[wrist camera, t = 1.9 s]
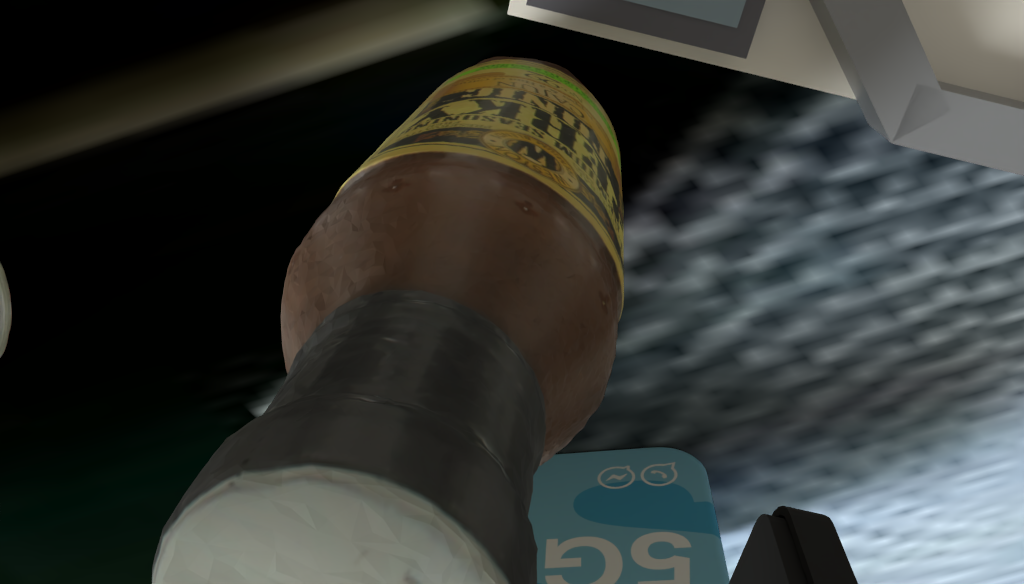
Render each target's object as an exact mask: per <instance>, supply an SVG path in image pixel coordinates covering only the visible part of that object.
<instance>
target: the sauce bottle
mask: <svg viewBox="0 0 1024 584" xmlns="http://www.w3.org/2000/svg"><path fill="white" fill-rule="evenodd" d="M623 279H624V265H623V200H622V182H621V159H620V151H619V145H618V141H617V138H616V134H615V131H614V128H613V126H612V124H611V122H610V120H609V118H608V116H607V114H606V113H605V111H604V110H603V108H602V107H601V105H600V104H599V102H598V101H597V100H596V99H595V97H594V96H593V95H592V94H591V92H590V91H588V90H587V89H586V87H585V86H584V85H583V84H582V83H581V82H580V81H579V80H578V79H577V78H576V77H575V76H574V75H573V74H572V73H571V72H570V71H568V70H567V69H565V68H563V67H561V66H559V65H556V64H553V63H550V62H546V61H539V60H536V59H527V58H516V57H493V58H489V59H485V60H483V61H481V62H479V63H478V64H476V65H474V66H472V67H470V68H467V69H465V70H463V71H462V72H460V73H458V74H456V75H454V76H453V77H451V78H450V79H448V80H447V81H446V82H444V83H443V84H442V85H441V86H440V87H439V88H438V89H437V90H436V91H435V92H434V93H433V94H432V95H431V96H430V97H429V98H428V99H427V100H426V101H425V102H424V103H423V104H422V105H421V106H420V107H419V108H418V109H417V110H416V111H415V112H414V113H413V114H412V115H411V116H410V117H409V118H408V119H407V120H406V121H405V122H404V123H403V124H402V125H401V126H400V127H399V128H398V129H397V130H396V131H394V132H393V133H392V134H391V135H390V136H389V137H388V138H387V139H386V140H385V141H384V142H383V143H382V145H381V146H380V147H379V148H378V149H377V150H376V152H375V153H374V154H372V155H371V156H370V157H369V158H368V159H367V160H366V161H365V162H364V163H363V164H362V165H361V167H360V168H359V169H358V170H357V171H356V172H355V173H354V174H353V175H352V176H351V177H350V178H349V179H348V180H347V181H346V182H345V183H344V184H343V185H342V186H341V188H340V189H339V191H338V193H337V194H336V196H335V198H334V200H333V202H332V203H331V205H330V206H329V207H328V208H327V209H326V210H325V211H324V212H323V213H322V214H321V215H320V217H319V218H318V219H317V220H316V222H315V224H314V225H313V227H312V228H311V230H310V231H309V232H308V234H307V235H306V236H305V238H304V239H303V241H302V243H301V245H300V246H299V247H298V248H297V249H296V251H295V253H294V255H293V257H292V259H291V261H290V264H289V266H288V270H287V276H286V279H285V284H284V291H283V297H282V304H281V332H282V347H283V353H284V358H285V366H286V370H287V373H288V375H287V377H286V379H285V382H284V384H283V386H282V387H281V388H280V389H279V391H278V393H277V395H276V396H275V398H274V400H273V401H272V403H271V404H270V405H269V407H268V408H267V410H266V411H265V412H264V414H263V415H262V416H259V417H257V418H255V419H254V420H252V421H251V422H249V423H248V424H247V425H245V426H244V427H243V428H241V429H240V430H239V431H237V432H236V433H234V434H233V435H231V436H229V437H228V438H227V439H226V440H225V441H224V443H223V444H222V445H221V446H220V448H219V449H218V450H217V451H216V452H215V453H214V454H213V456H212V457H211V459H210V460H209V462H208V463H207V464H206V465H205V467H204V468H203V469H202V470H201V472H200V473H199V475H198V476H197V477H196V479H195V480H194V482H193V483H192V485H191V486H190V487H189V489H188V490H187V492H186V493H185V494H184V496H183V498H182V499H181V501H180V502H179V504H178V506H177V507H176V509H175V510H174V512H173V514H172V515H171V517H170V518H169V520H168V522H167V523H166V525H165V526H164V528H163V531H162V534H161V538H160V541H159V545H158V548H157V551H156V555H155V559H154V563H153V569H152V584H537V551H538V548H537V545H536V542H535V539H534V534H533V528H532V524H531V522H530V520H529V518H528V513H529V508H530V503H531V496H532V493H533V475H534V474H535V472H536V471H537V469H538V467H539V466H541V465H543V464H544V463H545V462H547V461H548V460H550V459H551V458H552V457H553V456H554V455H555V454H556V452H558V451H560V450H561V449H562V448H564V447H565V446H566V445H567V444H568V443H569V442H570V441H571V440H572V439H573V438H574V436H575V435H576V434H577V433H578V432H579V431H581V430H582V429H583V428H584V426H585V424H586V423H587V421H588V419H589V418H590V417H591V415H592V414H593V413H594V412H595V411H596V410H597V409H598V408H599V406H600V404H601V402H602V400H603V398H604V395H605V391H606V387H607V383H608V380H609V378H610V375H611V371H612V365H613V362H614V359H615V356H616V354H615V353H616V340H617V337H618V336H617V329H618V326H617V324H618V322H619V319H620V317H621V313H622V309H623V299H624V280H623Z"/></svg>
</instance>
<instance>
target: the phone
mask: <svg viewBox="0 0 1024 584" xmlns="http://www.w3.org/2000/svg"><path fill="white" fill-rule="evenodd" d="M765 1H766V0H527V3H526V5H528V6H533V7H537V8H541V9H545V10H549V11H553V12H557V13H561V14H565V15H569V16H573V17H577V18H582V19H586V20H590V21H594V22H598V23H602V24H606V25H610V26H614V27H618V28H622V29H626V30H630V31H635V32H639V33H643V34H647V35H651V36H655V37H659V38H663V39H667V40H671V41H675V42H679V43H684V44H688V45H692V46H696V47H700V48H704V49H708V50H712V51H716V52H720V53H724V54H728V55H732V56H737V57H741V58H745V59H746V58H747V55H748V52H749V49H750V46H751V43H752V40H753V37H754V34H755V31H756V28H757V25H758V22H759V19H760V16H761V13H762V10H763V7H764V4H765Z"/></svg>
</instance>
